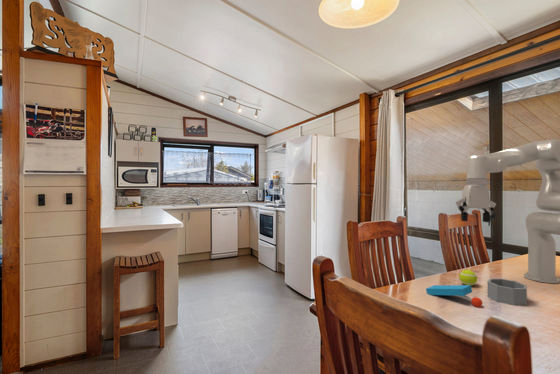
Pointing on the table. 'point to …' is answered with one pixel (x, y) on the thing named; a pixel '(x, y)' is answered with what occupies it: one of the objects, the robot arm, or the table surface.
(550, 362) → the table surface
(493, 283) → the gray octagonal bowl
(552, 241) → the robot arm
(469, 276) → the tennis ball
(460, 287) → the lever
